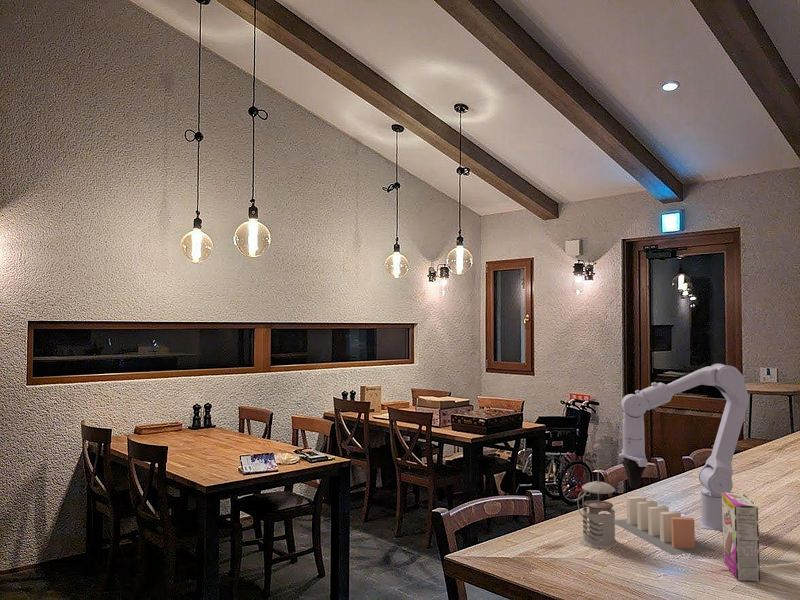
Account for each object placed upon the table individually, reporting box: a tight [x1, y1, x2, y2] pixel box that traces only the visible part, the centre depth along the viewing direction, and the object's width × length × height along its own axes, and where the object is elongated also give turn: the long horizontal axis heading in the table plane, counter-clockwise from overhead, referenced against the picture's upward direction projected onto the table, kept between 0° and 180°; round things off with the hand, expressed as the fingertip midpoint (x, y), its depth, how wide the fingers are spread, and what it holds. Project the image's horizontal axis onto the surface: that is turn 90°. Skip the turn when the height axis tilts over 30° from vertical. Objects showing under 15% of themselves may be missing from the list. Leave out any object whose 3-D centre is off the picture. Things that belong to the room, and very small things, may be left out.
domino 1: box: [626, 495, 647, 525], centre depth 185 cm, size 2×5×7 cm, turn 103°
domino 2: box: [637, 500, 658, 530], centre depth 180 cm, size 2×5×7 cm, turn 103°
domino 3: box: [648, 505, 670, 536], centre depth 175 cm, size 2×5×7 cm, turn 103°
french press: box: [577, 443, 619, 550], centre depth 171 cm, size 10×12×25 cm
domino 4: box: [660, 510, 682, 542], centre depth 170 cm, size 2×5×7 cm, turn 103°
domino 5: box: [671, 516, 696, 549], centre depth 165 cm, size 2×5×7 cm, turn 82°
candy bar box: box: [721, 492, 761, 583], centre depth 150 cm, size 11×5×16 cm, turn 168°
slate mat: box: [614, 518, 716, 556], centre depth 175 cm, size 28×12×1 cm, turn 13°
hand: (634, 487), depth 186 cm, fingers closed
